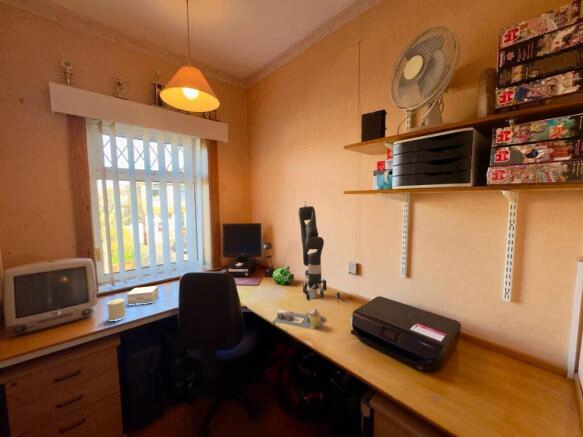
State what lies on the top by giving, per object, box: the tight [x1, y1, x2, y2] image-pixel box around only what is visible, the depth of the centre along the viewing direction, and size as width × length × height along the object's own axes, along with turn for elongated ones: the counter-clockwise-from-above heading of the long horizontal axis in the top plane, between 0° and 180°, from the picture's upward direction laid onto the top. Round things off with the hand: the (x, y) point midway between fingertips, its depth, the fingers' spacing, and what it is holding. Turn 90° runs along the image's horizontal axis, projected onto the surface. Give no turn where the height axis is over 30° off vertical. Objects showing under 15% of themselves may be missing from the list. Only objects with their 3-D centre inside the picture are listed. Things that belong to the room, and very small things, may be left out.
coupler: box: [310, 311, 322, 330], centre depth 140 cm, size 4×4×8 cm
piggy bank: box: [272, 265, 295, 286], centre depth 216 cm, size 14×18×15 cm
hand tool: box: [350, 328, 357, 337], centre depth 138 cm, size 19×4×5 cm, turn 143°
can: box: [107, 298, 127, 321], centre depth 156 cm, size 9×9×12 cm
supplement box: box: [126, 285, 159, 305], centre depth 182 cm, size 17×13×9 cm
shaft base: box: [272, 308, 328, 332], centre depth 148 cm, size 16×30×6 cm, turn 68°
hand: (314, 298), depth 139 cm, fingers open, 8 cm apart
